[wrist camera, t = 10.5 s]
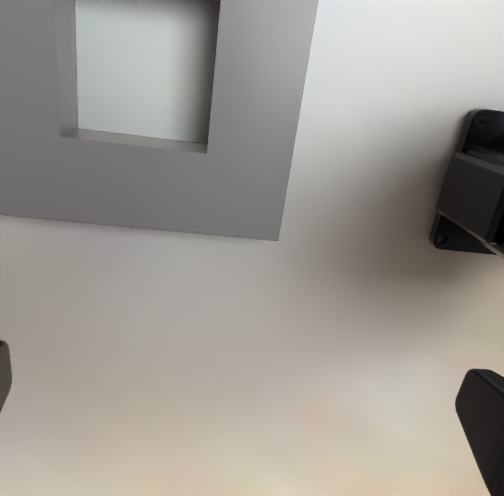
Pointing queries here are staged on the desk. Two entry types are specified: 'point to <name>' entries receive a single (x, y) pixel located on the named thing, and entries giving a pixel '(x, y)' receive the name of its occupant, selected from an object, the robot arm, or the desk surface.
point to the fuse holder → (147, 148)
